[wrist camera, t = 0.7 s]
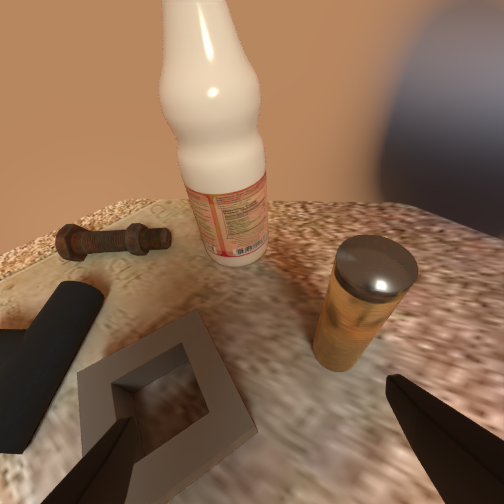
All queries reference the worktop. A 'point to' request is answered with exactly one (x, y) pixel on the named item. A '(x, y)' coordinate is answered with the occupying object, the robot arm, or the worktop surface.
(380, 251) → the brown round cylinder
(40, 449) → the worktop surface
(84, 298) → the pipe connector
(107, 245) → the bolt
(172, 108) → the fruit juice
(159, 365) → the docking block
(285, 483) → the worktop surface
